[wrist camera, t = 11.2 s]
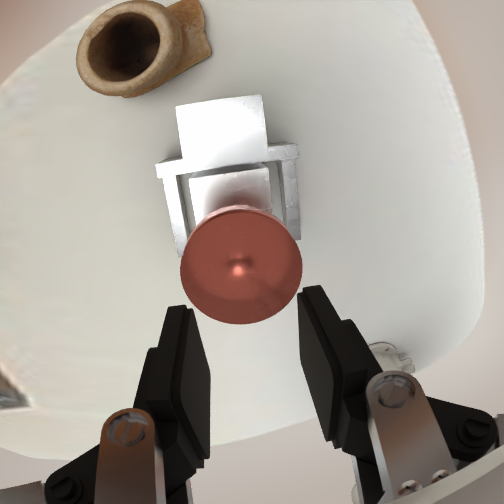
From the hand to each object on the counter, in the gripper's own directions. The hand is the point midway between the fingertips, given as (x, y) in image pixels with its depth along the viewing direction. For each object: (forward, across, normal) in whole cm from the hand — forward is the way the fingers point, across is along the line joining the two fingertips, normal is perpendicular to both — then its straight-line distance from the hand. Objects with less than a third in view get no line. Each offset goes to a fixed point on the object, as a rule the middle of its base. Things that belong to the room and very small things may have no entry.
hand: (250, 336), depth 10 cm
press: (+32, 0, 0) cm, 32 cm away
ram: (+18, 0, 0) cm, 18 cm away
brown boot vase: (+33, +7, -18) cm, 38 cm away
